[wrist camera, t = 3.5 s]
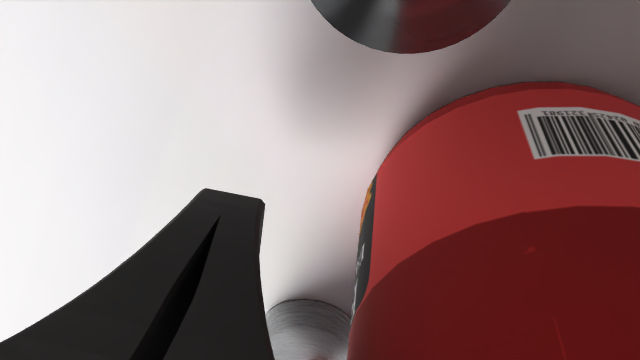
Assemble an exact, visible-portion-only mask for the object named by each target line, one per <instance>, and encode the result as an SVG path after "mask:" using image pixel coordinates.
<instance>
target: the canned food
mask: <svg viewBox="0 0 640 360" xmlns="http://www.w3.org/2000/svg"><path fill="white" fill-rule="evenodd" d="M347 360H640V106H638V105H635V104H633V103H631V102H629V101H626V100H624V99H622V98H620V97H617V96H614V95H612V94H609V93H606V92H603V91H600V90H598V89H595V88H592V87H588V86H581V85H575V84H569V83H563V82H522V83H516V84H511V85H505V86H499V87H494V88H489V89H486V90H483V91H480V92H477V93H474V94H471V95H468V96H465V97H463V98H460V99H457V100H455V101H453V102H452V103H450V104H448V105H446V106H444V107H442V108H440V109H439V110H437V111H435V112H433V113H431V114H430V115H428V116H427V117H426V118H424V119H423V120H422V121H421V122H419V123H418V124H417V125H415V126H414V127H413V128H412V129H410V130H409V131H408V132H407V133H406V134H405V135H404V136H403V137H402V139H401V140H400V141H399V142H398V143H397V144H396V145H395V147H394V148H393V149H392V150H391V151H390V152H389V154H388V155H387V157H386V159H385V160H384V162H383V163H382V165H381V166H380V168H379V170H378V172H377V173H376V175H375V177H374V179H373V181H372V183H371V184H370V186H369V188H368V190H367V194H366V198H365V202H364V205H363V209H362V214H361V224H360V234H359V244H358V254H357V264H356V274H355V284H354V294H353V304H352V314H351V324H350V334H349V344H348V354H347Z"/></svg>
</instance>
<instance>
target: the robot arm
mask: <svg viewBox="0 0 640 360" xmlns="http://www.w3.org/2000/svg"><path fill="white" fill-rule="evenodd" d="M264 210H265V203H264V202H263V201H262V200H261V199H258V198H253V197H248V196H243V195H238V194H233V193H227V192H222V191H217V190H212V189H207V188H205V189H203V190H202V191H200V192H199V193H198V194H197V195H196V196H195V197H194V198H193V199H192V200H191V202H190V203H189V204H188V205H187V206H186V207H185V208H184V209H183V210H182V211H181V212H180V213H179V214H178V215H177V216H176V217H175V218H173V219H172V220H171V221H170V222H169V223H168V224H167V225H166V226H165V227H164V228H163V229H162V230H161V231H160V232H158V233H157V234H156V235H155V236H154V237H153V238H152V239H151V240H150V241H148V242H147V243H146V244H145V245H144V246H143V247H142V248H141V249H139V250H138V251H137V252H136V253H135V254H133V255H132V256H131V257H130V258H128V259H127V260H126V261H125V262H123V263H122V264H121V265H120V266H118V267H117V268H116V269H115V270H113V271H112V272H111V273H110V274H108V275H107V276H106V277H104V278H103V279H102V280H100V281H99V282H97V283H96V284H95V285H93V286H92V287H91V288H89V289H88V290H86V291H85V292H83V293H82V294H80V295H79V296H77V297H76V298H75V299H73V300H72V301H70V302H69V303H67V304H66V305H64V306H62V307H61V308H59V309H58V310H56V311H54V312H53V313H51V314H49V315H48V316H46V317H45V318H43V319H41V320H40V321H38V322H36V323H35V324H33V325H31V326H30V327H28V328H26V329H24V330H23V331H21V332H19V333H17V334H16V335H14V336H12V337H10V338H8V339H6V340H4V341H2V342H0V360H275V358H274V354H273V350H272V346H271V341H270V337H269V332H268V327H267V322H266V316H265V310H264V303H263V295H262V288H261V278H260V262H259V253H260V244H261V236H262V227H263V219H264Z"/></svg>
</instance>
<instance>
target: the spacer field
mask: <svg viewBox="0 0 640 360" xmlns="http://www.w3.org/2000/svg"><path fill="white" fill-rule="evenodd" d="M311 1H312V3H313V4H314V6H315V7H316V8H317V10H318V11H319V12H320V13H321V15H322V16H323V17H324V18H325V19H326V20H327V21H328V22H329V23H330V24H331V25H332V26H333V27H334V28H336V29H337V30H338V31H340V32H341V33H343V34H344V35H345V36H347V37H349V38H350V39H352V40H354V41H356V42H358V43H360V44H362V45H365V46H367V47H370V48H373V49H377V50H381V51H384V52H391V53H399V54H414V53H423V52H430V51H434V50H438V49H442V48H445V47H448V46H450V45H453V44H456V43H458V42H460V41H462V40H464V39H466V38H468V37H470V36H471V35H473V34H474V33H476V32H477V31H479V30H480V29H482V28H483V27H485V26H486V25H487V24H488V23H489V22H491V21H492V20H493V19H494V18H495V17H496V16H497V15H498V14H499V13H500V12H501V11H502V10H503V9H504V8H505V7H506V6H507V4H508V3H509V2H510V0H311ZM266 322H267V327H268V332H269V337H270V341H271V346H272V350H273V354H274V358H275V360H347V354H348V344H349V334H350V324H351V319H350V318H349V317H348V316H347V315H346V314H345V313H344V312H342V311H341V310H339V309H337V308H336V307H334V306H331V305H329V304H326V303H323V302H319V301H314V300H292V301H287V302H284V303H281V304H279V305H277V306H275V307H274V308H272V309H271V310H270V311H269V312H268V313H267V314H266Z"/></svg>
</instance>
